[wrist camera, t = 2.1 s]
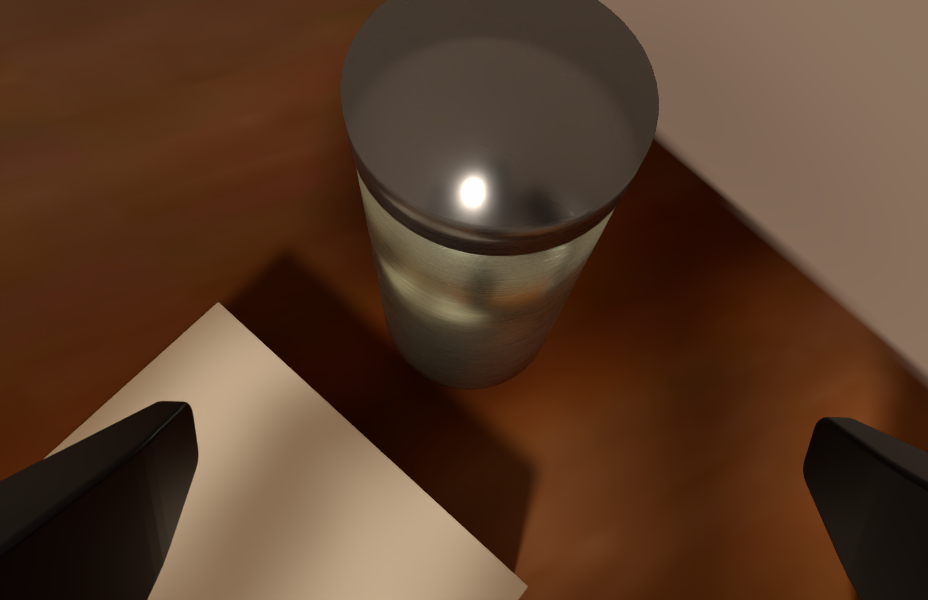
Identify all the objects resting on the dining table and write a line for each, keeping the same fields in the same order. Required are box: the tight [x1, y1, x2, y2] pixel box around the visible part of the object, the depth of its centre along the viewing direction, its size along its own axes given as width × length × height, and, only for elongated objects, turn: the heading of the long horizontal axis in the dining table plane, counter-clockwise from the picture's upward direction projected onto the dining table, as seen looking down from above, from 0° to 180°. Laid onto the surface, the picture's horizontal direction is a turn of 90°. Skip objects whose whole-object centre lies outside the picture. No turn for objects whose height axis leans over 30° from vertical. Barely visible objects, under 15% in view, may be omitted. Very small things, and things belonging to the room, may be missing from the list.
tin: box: [340, 0, 659, 389], centre depth 18 cm, size 6×6×12 cm
